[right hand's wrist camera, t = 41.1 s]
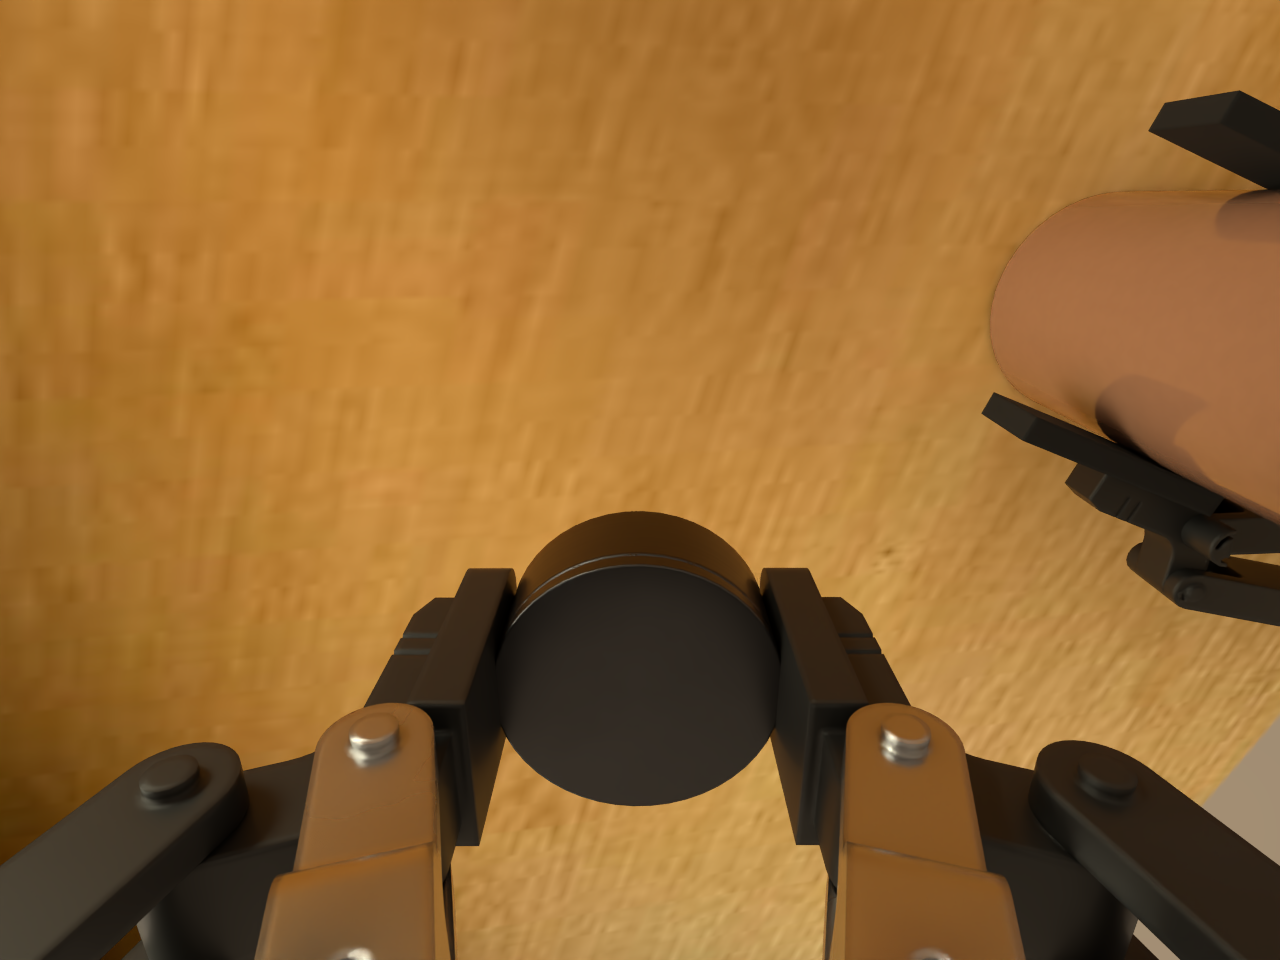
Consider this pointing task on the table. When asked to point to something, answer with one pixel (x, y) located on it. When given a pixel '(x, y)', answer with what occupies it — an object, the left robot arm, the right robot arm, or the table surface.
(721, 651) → the cap
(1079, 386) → the bottle
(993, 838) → the right robot arm
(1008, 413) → the left robot arm
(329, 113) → the table surface
